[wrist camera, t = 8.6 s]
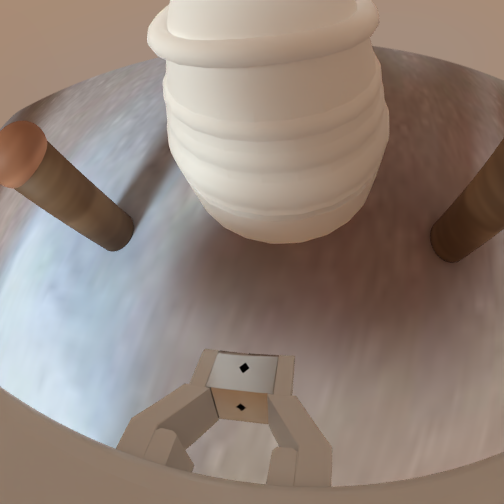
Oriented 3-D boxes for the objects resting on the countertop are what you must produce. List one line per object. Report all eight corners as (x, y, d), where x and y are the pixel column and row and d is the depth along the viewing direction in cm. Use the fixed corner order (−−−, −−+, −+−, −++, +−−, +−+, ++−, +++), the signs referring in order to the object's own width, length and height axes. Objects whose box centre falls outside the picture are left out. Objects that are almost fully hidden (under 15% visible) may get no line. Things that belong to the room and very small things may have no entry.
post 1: (92, 245, 20) (-29, 164, 8) (112, 206, 21) (7, 109, 9) (122, 260, 19) (-13, 171, 8) (143, 217, 20) (31, 105, 8)
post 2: (424, 256, 16) (542, 131, 5) (430, 209, 17) (519, 74, 5) (466, 272, 15) (595, 177, 4) (470, 226, 16) (572, 114, 4)
